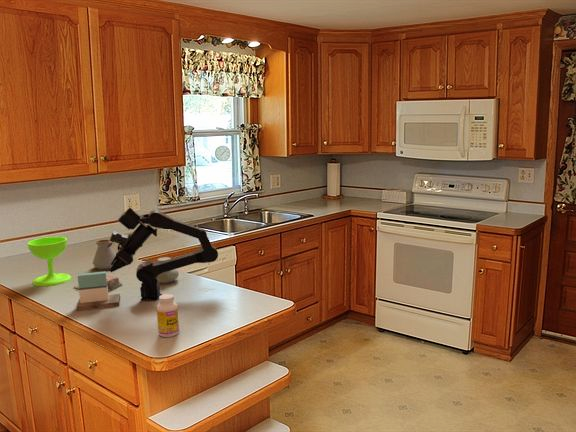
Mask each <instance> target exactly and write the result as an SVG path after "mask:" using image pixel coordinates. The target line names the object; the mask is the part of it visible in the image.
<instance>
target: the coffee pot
mask: <svg viewBox="0 0 576 432" xmlns="http://www.w3.org/2000/svg"><path fill="white" fill-rule="evenodd" d="M95 244H96V245H97V249H96V252H95V255H94V258H93V260H92V264H93V267H95V268H96V269H97V270H101V271H106V270H110V268H111V267H112V265H111V263H112V261H113V259H114V257H115V256H116V253H115V252H114V251H113V248H114V246H115V242H111V241H110V239H100V240H97V241H95Z"/></svg>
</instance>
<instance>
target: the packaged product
mask: <svg viewBox="0 0 576 432" xmlns="http://www.w3.org/2000/svg"><path fill="white" fill-rule="evenodd" d="M106 276H107V286H108V291H109V292H110V290H111V291H113V290H115V289H118V288H120V287H122V286H123V282H121V281H120V278H119V277H117V276H111V275H110V276H109V275H106ZM119 286H120V287H119ZM117 287H118V288H117ZM73 288H74V289H78V290H79V285H78V284H76V285H73Z"/></svg>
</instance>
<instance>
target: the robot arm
mask: <svg viewBox="0 0 576 432" xmlns="http://www.w3.org/2000/svg"><path fill="white" fill-rule="evenodd" d="M117 222H118V223H120V224H121V225H122V226H124V227H125V228H126V230H129V231H130V230H133V232H132V233H129V234H128V235H126V234H125V233H120V232H117V231H112V232H111V235H110V239H109V240H110V243H116V244H118V245H117V252H115V255H116V256H115V257H114V259H113V261H112V263H111V265H112V267H111V268H110V269H108V270H109V273H113V272H115V271H117V270H120V269H122V268H124V267H126V266H129V265H131V264H132V263H133V262H134V256H135V255H136V253H137V252H138V250H139V249H140V248H142V247H143V244H144V243H145V242H146V241H147V240H148V239H149V238H150V237H151V235H153V236H154V237H158V229H164V230H165V229H167V230H172V231H175V232H177V233H180V234H182V235H187V236H189V237H192V238H195V239H197V240H198V241H199V243H200V245H201V246H200V247H199V248H198V249H196V250H194V251H193V252H190V253H186V254H183V255H180V256H177V257H172V258H171V259H169V260H166V261H162V262H158V263H157V262H154V260H153V259H149V260H147V261H142V262H141V263H140V264H139V265H138V266H137V268H136V272H135V273H136V275H135V276H136V279H137V280H138V282H141V283H140V285H141V286H140V287H139V289H140V297H141V298H140V301H159V296H161V295H163V294H162V293H161V288H160V283H159V281H158V278H157V276H158V275H159V274H161V273H164V272H167V271H171V270H174V269H177V270H178V269H181V268H183V267H187V266H190V265H194V264H207V263H213V262H216V261H217V259H218V257H219V252H218V250H217V248H216V246H215V245H213V244H212V243H211V240H209V237H208V235H207V232H206V230H205V229H204V228H202V227H197V226H194V225H191V224H188V223H185V222H183V221H181V220H178V219H177V220H176V219H174V218H173V217H170V216H169V215H168V214H166V213H164V212H162V211H160V210H157V209H154V210H153V209H152V210H151V211H149V213H145V214H141V215H139V214H138V213H137V212H136V211H135V210H134V209H133V208H132V207H128V209H126V210H125V211H123V213H122V214H121V215H120V216H119V217H118V219H117Z"/></svg>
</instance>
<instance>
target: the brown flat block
mask: <svg viewBox="0 0 576 432" xmlns="http://www.w3.org/2000/svg"><path fill="white" fill-rule="evenodd" d="M108 296H109V299H108V300H104V301H95V302H86V303H80V298H79V299H78V301H77V304H76V311H85V310H93V309H94V310H95V309H103V307H104V308H111V307H112V306H113V307H119V306H120V301H121V294H120V293H116V294H115V293H114V294H113V293H112V294H108Z"/></svg>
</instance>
